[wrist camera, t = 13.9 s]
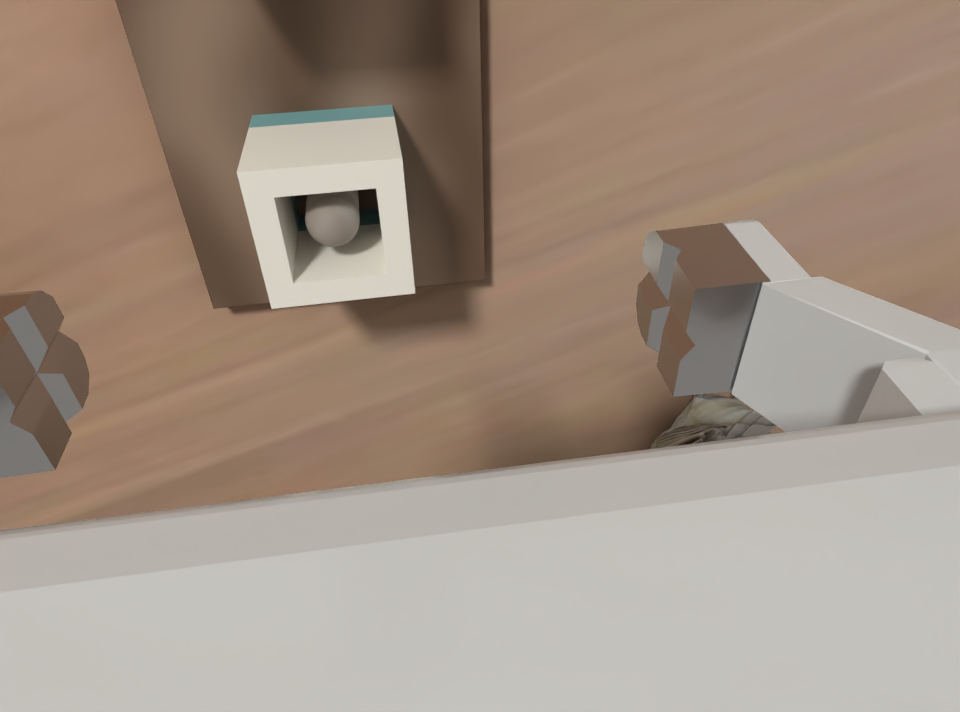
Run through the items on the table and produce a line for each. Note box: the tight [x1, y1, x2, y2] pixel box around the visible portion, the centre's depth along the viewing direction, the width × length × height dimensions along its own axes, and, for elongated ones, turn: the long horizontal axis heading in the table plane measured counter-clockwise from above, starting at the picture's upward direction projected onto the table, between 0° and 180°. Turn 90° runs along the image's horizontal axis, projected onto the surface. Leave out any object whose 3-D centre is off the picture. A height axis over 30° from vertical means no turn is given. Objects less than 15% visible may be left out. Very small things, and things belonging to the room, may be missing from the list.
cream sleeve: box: [237, 105, 415, 309], centre depth 30 cm, size 6×6×6 cm
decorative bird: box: [650, 394, 776, 449], centre depth 46 cm, size 5×16×8 cm, turn 170°
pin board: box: [116, 0, 485, 309], centre depth 26 cm, size 14×26×7 cm, turn 1°
